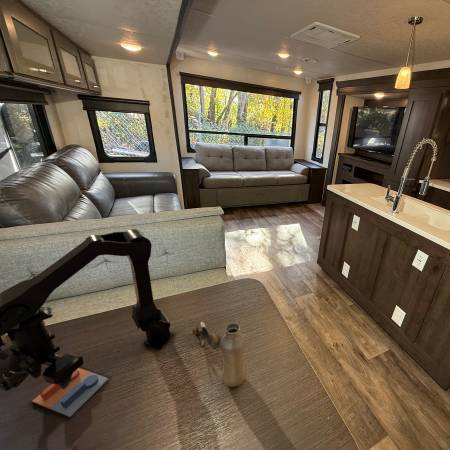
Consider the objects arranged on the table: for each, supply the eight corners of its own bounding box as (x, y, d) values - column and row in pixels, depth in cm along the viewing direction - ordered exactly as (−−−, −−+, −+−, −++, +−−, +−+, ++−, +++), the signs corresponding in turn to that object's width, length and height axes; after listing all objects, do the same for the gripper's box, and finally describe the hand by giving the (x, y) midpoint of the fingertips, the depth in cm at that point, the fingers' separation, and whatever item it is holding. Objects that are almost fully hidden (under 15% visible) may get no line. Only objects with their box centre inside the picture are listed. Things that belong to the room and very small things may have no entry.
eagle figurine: (185, 347, 79) (209, 351, 77) (188, 323, 81) (212, 327, 78) (200, 341, 86) (223, 345, 84) (203, 320, 88) (225, 323, 85)
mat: (108, 379, 69) (108, 378, 69) (69, 417, 60) (69, 416, 60) (74, 367, 71) (74, 366, 71) (32, 402, 62) (31, 400, 62)
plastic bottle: (240, 392, 69) (239, 340, 61) (217, 386, 70) (214, 334, 62) (249, 371, 75) (249, 321, 67) (228, 366, 76) (226, 316, 68)
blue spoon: (69, 409, 61) (66, 404, 60) (59, 405, 62) (56, 400, 61) (101, 379, 68) (99, 373, 67) (92, 376, 69) (90, 370, 68)
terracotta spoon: (49, 401, 62) (46, 396, 61) (39, 398, 63) (36, 392, 62) (82, 372, 70) (80, 367, 69) (73, 369, 70) (71, 364, 69)
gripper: (-50, 355, 52) (-19, 402, 58) (16, 381, 48) (42, 428, 54) (17, 318, 62) (38, 361, 68) (76, 337, 58) (92, 381, 65)
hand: (51, 382), depth 63 cm, fingers open, 9 cm apart
